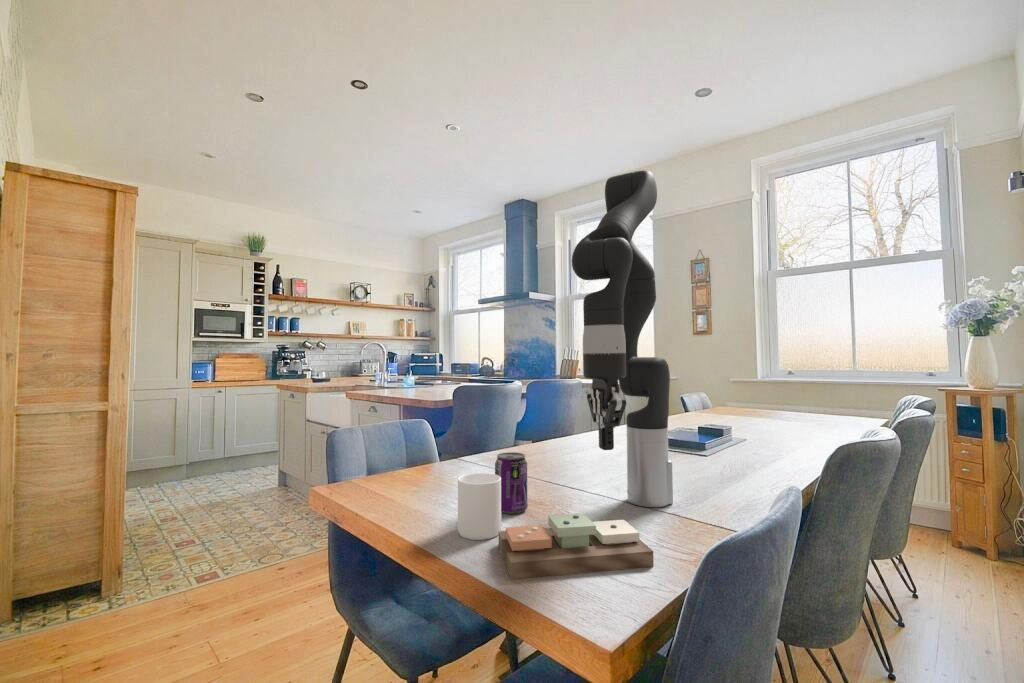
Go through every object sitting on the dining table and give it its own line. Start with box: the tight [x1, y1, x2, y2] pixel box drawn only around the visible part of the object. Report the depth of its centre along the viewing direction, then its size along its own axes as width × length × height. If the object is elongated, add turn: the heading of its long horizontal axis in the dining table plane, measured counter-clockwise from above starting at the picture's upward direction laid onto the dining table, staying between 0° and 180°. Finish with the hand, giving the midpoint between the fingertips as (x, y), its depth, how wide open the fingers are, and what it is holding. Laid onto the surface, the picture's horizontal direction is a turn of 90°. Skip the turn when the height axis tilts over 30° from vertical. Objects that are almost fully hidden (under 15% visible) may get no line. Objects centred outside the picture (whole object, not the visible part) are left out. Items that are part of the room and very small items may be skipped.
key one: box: [592, 519, 640, 545], centre depth 80 cm, size 6×6×4 cm
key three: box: [505, 524, 552, 552], centre depth 78 cm, size 6×6×4 cm
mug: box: [457, 472, 502, 541], centre depth 91 cm, size 12×8×10 cm
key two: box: [547, 512, 596, 548], centre depth 79 cm, size 6×6×4 cm
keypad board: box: [498, 527, 655, 580], centre depth 79 cm, size 23×13×2 cm, turn 100°
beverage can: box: [494, 451, 529, 515], centre depth 103 cm, size 7×7×12 cm
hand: (606, 449), depth 83 cm, fingers closed
